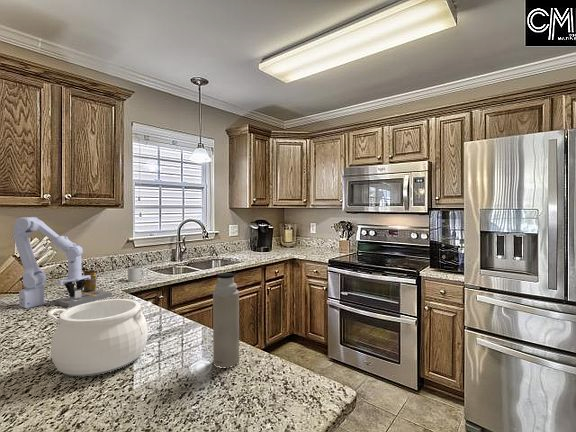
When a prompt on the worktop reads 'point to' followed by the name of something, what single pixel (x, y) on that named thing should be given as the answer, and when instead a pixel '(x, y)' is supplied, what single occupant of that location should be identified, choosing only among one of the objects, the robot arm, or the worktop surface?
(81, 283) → the robot arm
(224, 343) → the thermos bottle
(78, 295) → the fader tab
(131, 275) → the cup
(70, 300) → the console board
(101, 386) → the worktop surface
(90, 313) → the pot
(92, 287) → the condiment
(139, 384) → the worktop surface
